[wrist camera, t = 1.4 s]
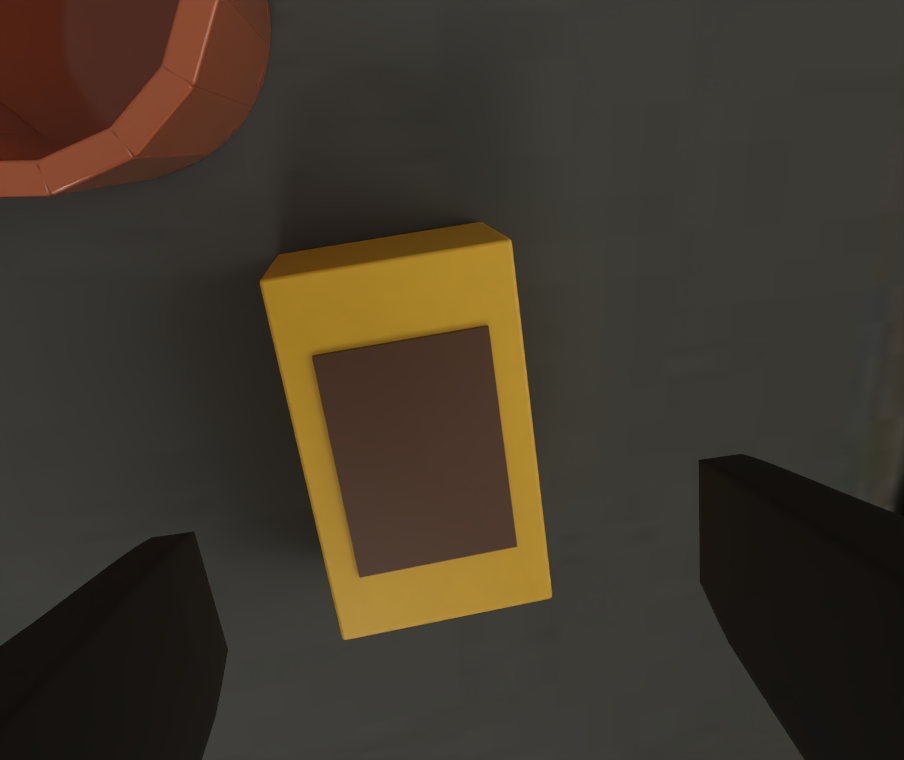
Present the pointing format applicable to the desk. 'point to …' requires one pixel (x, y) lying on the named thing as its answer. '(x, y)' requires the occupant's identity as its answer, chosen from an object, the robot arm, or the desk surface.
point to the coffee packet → (413, 423)
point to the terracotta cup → (122, 87)
